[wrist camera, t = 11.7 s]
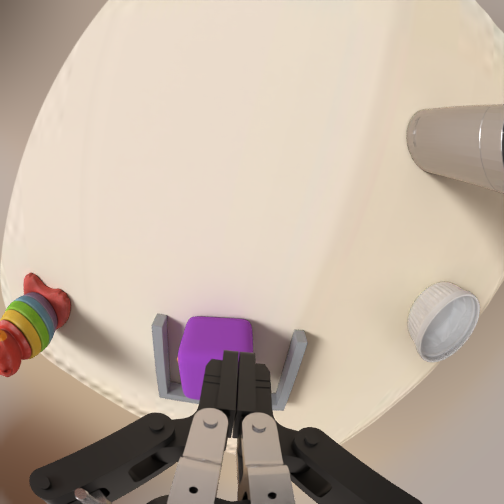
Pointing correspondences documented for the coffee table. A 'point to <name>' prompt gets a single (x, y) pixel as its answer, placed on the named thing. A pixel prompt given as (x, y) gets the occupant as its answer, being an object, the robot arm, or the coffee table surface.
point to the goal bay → (176, 393)
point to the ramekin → (442, 320)
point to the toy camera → (209, 347)
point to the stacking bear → (30, 323)
